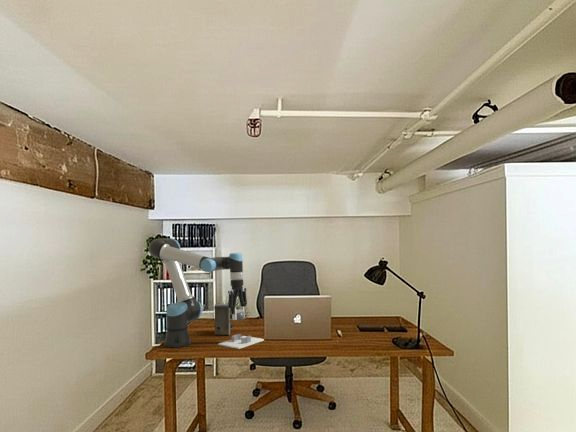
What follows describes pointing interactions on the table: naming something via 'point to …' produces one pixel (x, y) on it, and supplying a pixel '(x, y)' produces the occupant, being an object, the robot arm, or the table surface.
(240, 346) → the barrel stand
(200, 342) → the table surface
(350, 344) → the table surface
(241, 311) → the light grey cube
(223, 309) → the vintage camera
